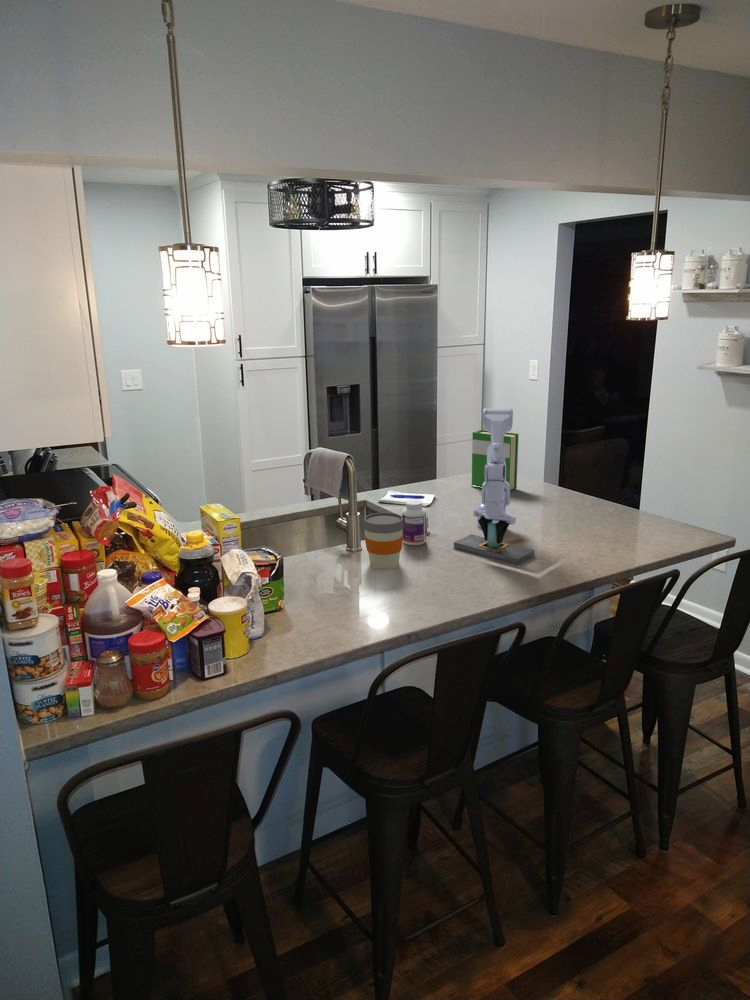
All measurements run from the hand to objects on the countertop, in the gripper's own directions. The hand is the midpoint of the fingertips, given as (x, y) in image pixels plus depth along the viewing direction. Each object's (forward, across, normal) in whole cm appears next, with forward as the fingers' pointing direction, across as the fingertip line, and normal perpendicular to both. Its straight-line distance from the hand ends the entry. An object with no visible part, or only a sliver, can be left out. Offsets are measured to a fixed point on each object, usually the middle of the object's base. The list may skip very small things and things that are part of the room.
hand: (493, 541), depth 227 cm
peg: (+2, 0, 0) cm, 2 cm away
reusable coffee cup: (+5, -22, -28) cm, 36 cm away
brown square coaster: (+5, 0, +13) cm, 14 cm away
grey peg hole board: (+5, 0, 0) cm, 5 cm away
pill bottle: (+5, -27, -7) cm, 28 cm away
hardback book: (+5, -44, +68) cm, 81 cm away
